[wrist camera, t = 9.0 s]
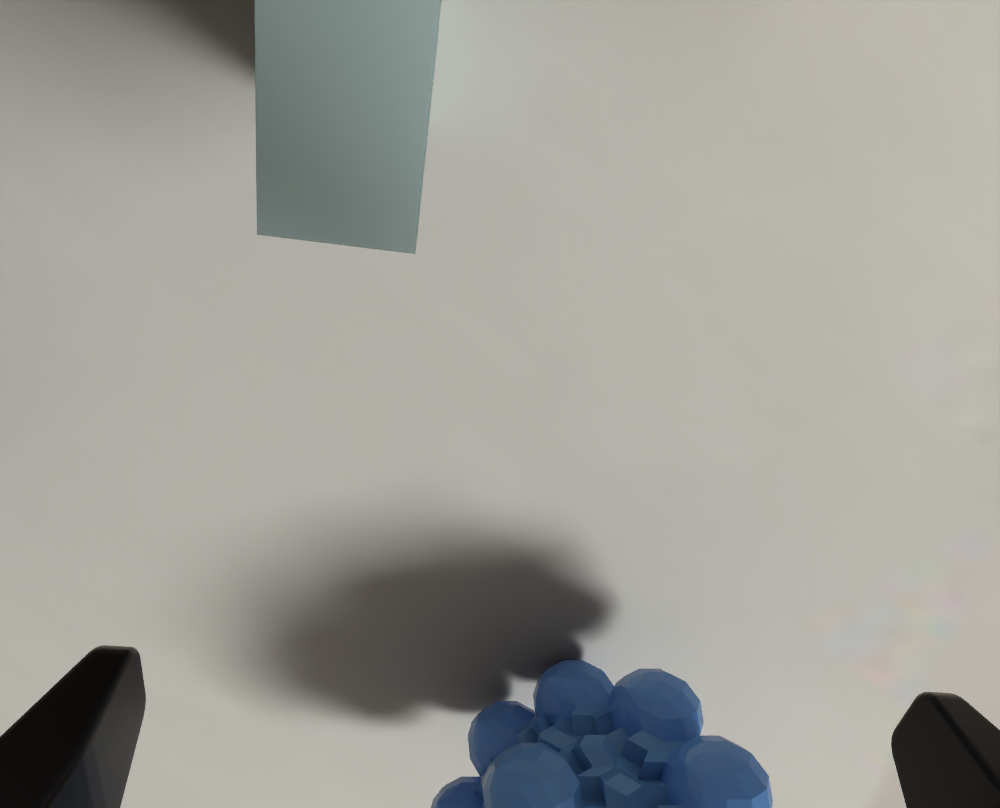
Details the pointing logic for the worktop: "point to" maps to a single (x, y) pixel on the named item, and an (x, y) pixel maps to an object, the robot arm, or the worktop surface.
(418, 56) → the cross plate
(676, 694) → the grapes
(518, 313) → the worktop surface
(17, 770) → the robot arm
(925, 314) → the worktop surface
